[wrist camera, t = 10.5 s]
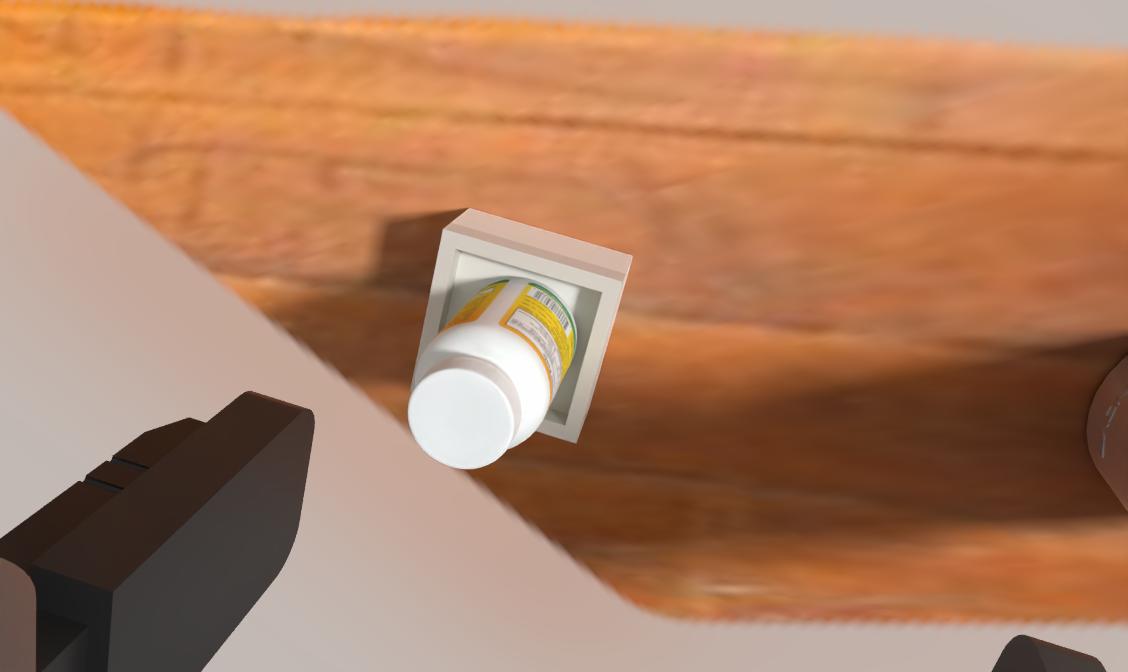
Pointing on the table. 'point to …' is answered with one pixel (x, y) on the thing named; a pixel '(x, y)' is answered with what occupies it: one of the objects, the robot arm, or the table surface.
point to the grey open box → (566, 265)
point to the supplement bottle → (491, 373)
